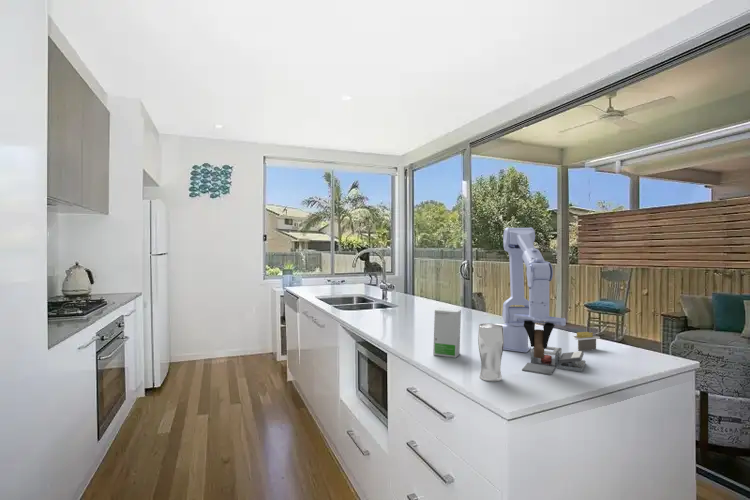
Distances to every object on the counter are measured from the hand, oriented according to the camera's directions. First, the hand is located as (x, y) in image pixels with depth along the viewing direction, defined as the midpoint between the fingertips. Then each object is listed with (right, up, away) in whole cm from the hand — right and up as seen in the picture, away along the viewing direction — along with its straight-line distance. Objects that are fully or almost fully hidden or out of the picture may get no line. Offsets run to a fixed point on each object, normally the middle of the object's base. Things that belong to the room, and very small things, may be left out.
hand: (538, 346), depth 122 cm
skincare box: (-25, -7, +17) cm, 31 cm away
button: (+6, -7, +8) cm, 12 cm away
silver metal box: (+8, -7, +6) cm, 12 cm away
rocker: (+12, -4, +3) cm, 13 cm away
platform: (+27, -7, +24) cm, 36 cm away
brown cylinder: (0, -3, 0) cm, 3 cm away
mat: (0, -7, 0) cm, 7 cm away
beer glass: (-17, -7, -8) cm, 20 cm away
